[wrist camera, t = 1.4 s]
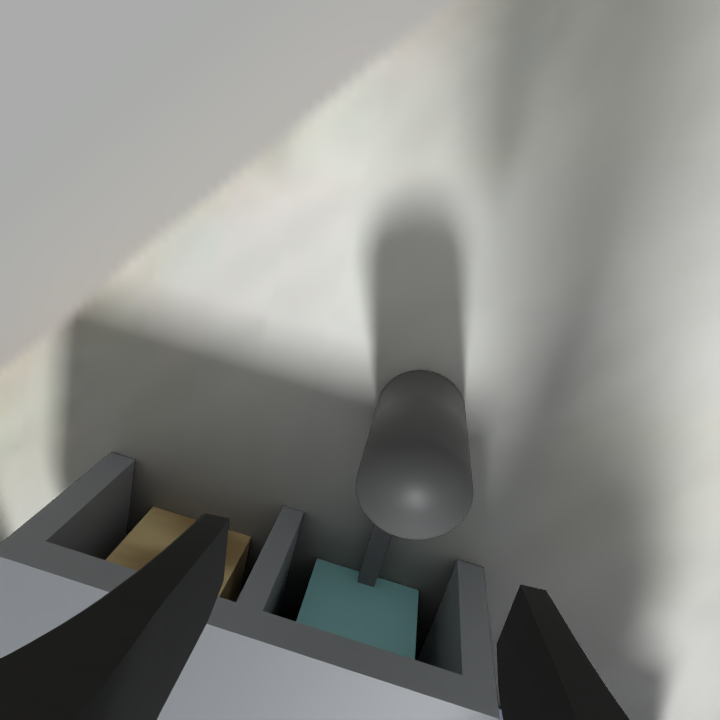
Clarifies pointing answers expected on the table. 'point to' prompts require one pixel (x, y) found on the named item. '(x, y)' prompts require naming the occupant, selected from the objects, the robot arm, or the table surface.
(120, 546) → the ochre block
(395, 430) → the block
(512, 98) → the table surface
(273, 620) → the cubby shelf
